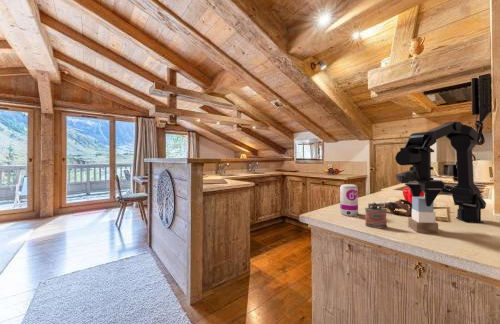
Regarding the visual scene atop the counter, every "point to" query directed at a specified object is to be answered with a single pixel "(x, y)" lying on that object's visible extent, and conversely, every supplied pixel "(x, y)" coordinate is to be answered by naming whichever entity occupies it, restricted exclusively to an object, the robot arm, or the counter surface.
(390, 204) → the dark brown irregular piece
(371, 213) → the lighter
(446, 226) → the counter surface
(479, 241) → the counter surface
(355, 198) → the supplement can
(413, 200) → the slate block
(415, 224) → the walnut base block
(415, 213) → the cream middle block
